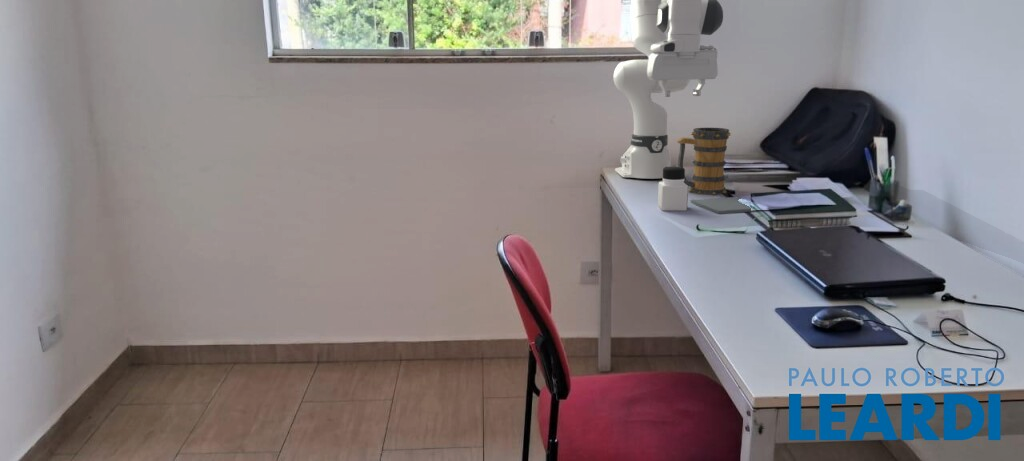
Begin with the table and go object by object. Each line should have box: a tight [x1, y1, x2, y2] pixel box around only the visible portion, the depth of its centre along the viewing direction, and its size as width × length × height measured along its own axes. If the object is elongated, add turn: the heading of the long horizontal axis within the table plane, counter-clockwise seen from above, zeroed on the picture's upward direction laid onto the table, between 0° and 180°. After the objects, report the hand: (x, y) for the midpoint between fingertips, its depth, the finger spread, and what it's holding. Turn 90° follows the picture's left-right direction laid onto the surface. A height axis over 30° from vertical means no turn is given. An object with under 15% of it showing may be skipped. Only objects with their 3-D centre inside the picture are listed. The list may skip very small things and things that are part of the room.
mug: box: [676, 127, 732, 196], centre depth 235 cm, size 13×17×20 cm
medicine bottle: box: [657, 165, 689, 212], centre depth 215 cm, size 7×7×12 cm
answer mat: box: [690, 196, 752, 215], centre depth 218 cm, size 16×16×1 cm
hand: (681, 96), depth 213 cm, fingers open, 8 cm apart
